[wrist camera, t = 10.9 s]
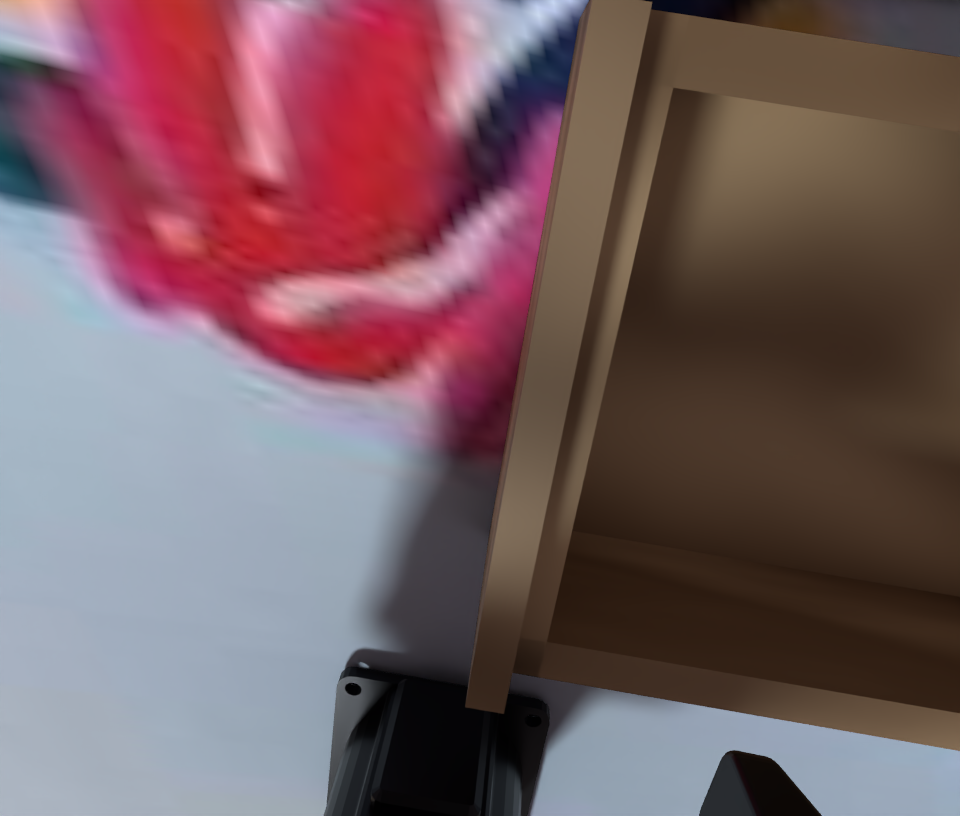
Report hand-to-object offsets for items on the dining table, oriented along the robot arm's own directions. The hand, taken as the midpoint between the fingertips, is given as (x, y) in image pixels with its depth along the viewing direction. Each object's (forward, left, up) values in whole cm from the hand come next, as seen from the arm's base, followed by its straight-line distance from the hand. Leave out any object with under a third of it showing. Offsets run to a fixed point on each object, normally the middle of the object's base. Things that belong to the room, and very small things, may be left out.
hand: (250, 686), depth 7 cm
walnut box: (0, -10, -13) cm, 16 cm away
